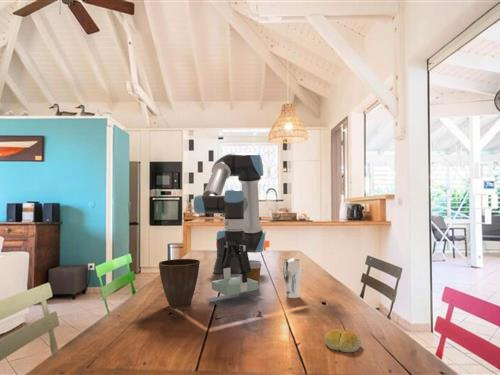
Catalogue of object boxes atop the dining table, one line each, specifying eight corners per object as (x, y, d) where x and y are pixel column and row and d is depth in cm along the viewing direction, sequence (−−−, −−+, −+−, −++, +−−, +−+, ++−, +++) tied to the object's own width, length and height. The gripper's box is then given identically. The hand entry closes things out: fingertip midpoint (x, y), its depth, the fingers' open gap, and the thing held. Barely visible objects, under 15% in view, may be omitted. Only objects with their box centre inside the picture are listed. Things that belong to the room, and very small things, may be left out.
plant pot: (149, 309, 122) (150, 264, 123) (173, 298, 136) (173, 257, 137) (186, 314, 117) (186, 266, 118) (207, 301, 131) (206, 259, 132)
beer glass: (303, 297, 137) (302, 258, 138) (298, 301, 131) (297, 261, 131) (286, 295, 140) (286, 257, 141) (281, 299, 134) (280, 260, 134)
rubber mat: (205, 301, 132) (205, 299, 132) (244, 294, 142) (244, 291, 142) (223, 311, 120) (223, 308, 120) (264, 302, 130) (264, 299, 130)
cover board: (211, 289, 132) (211, 281, 132) (242, 283, 140) (242, 276, 140) (226, 295, 123) (226, 287, 123) (258, 289, 131) (258, 281, 131)
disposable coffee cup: (262, 287, 153) (262, 260, 153) (261, 293, 143) (261, 264, 144) (241, 287, 154) (241, 260, 154) (238, 292, 144) (238, 263, 145)
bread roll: (330, 337, 96) (330, 323, 97) (363, 344, 92) (362, 329, 92) (319, 348, 89) (319, 332, 90) (354, 356, 85) (354, 339, 85)
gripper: (211, 228, 140) (211, 283, 139) (243, 233, 120) (243, 296, 120) (227, 227, 144) (227, 280, 143) (260, 231, 124) (261, 293, 124)
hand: (234, 287), depth 131 cm, fingers closed on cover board, 11 cm apart
